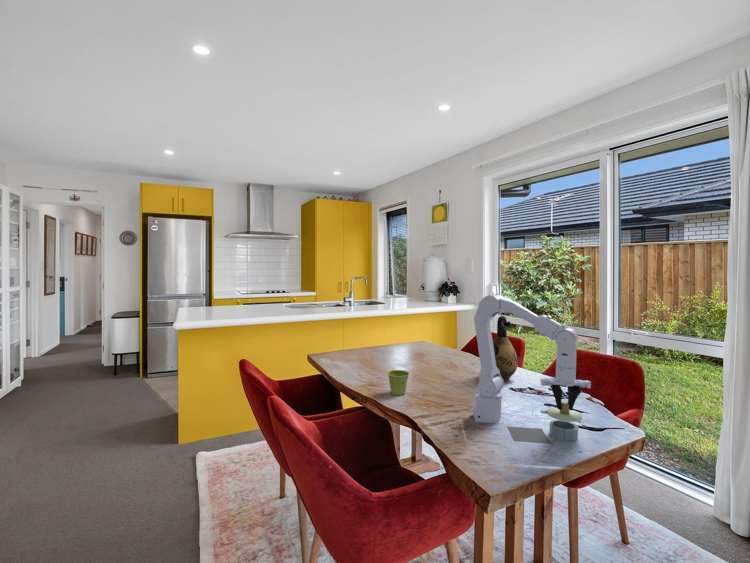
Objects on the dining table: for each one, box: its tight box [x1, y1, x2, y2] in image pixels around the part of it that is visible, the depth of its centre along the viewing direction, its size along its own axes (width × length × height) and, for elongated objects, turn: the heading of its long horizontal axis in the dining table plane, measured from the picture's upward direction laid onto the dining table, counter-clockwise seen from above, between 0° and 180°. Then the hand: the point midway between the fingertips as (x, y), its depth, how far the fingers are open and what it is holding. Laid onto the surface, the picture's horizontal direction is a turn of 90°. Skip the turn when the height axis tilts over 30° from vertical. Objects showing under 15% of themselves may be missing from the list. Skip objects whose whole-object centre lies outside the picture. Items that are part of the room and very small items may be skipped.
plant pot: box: [386, 369, 411, 396], centre depth 170 cm, size 9×9×9 cm
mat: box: [506, 426, 552, 444], centre depth 129 cm, size 11×11×1 cm
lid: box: [546, 401, 583, 423], centre depth 128 cm, size 10×10×4 cm
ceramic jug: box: [493, 315, 519, 382], centre depth 194 cm, size 17×15×30 cm
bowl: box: [548, 419, 579, 442], centre depth 128 cm, size 8×8×4 cm
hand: (564, 409), depth 128 cm, fingers closed on lid, 3 cm apart
